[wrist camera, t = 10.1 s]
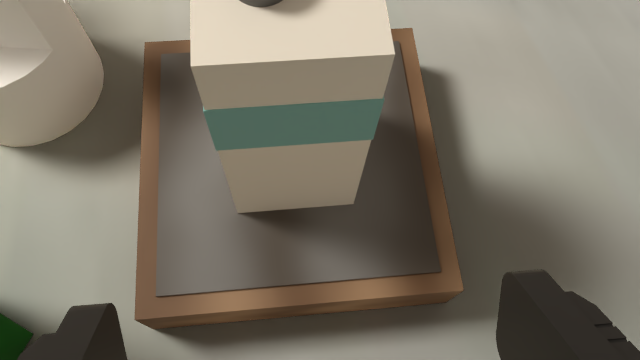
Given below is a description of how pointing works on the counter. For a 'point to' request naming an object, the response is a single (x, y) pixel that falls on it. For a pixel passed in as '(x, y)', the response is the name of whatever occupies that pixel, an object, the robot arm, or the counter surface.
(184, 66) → the brown shallow square tray
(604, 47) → the counter surface
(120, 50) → the counter surface
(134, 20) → the counter surface
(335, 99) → the cream carton
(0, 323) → the milk carton
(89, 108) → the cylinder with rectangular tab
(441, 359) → the counter surface
